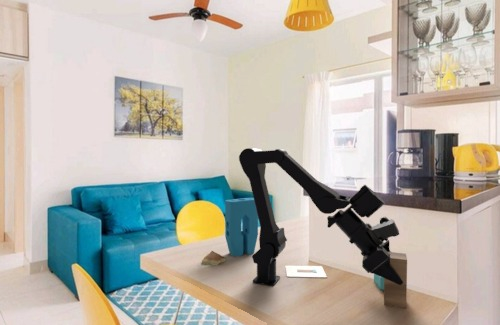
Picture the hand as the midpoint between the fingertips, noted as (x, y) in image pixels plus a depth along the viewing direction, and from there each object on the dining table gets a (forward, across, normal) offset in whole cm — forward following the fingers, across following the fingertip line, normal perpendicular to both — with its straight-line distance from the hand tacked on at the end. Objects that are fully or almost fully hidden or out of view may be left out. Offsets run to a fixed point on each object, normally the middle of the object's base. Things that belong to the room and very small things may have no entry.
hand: (400, 276), depth 80 cm
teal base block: (+3, +10, +7) cm, 12 cm away
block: (-32, +20, +42) cm, 57 cm away
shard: (-37, +9, +48) cm, 61 cm away
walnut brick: (+4, 0, +6) cm, 7 cm away
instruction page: (-14, +11, +24) cm, 30 cm away
